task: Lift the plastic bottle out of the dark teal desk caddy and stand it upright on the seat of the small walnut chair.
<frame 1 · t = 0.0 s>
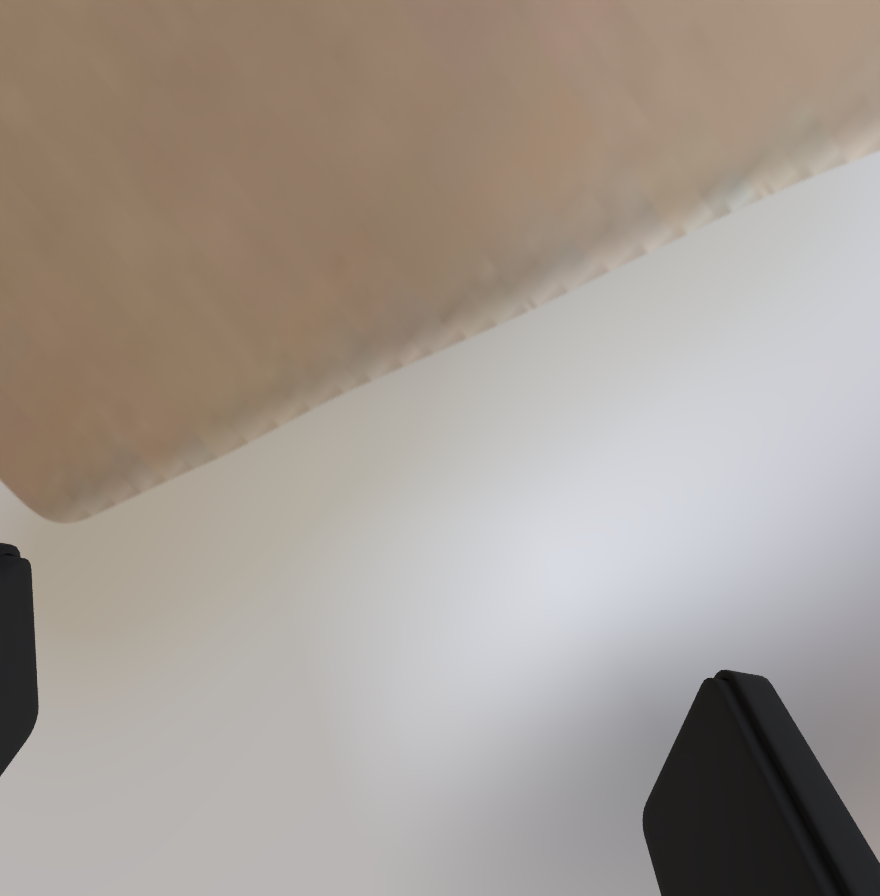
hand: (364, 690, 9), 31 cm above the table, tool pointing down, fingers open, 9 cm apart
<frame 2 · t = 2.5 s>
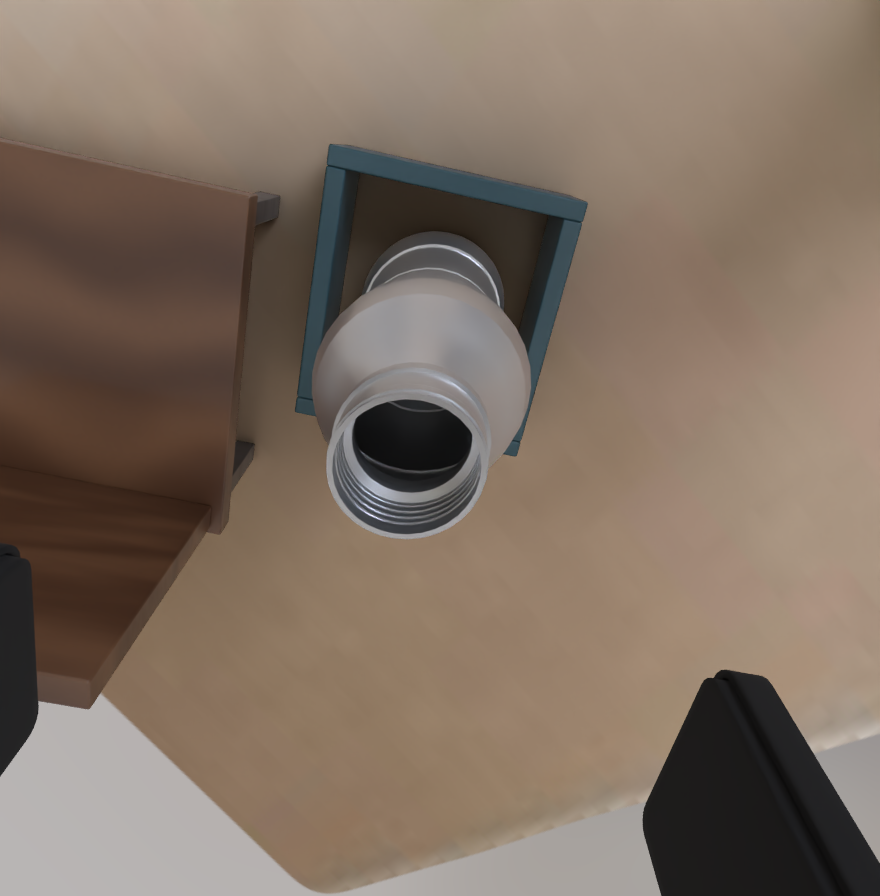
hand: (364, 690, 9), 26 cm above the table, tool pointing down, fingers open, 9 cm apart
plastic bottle: (434, 293, 33), resting in caddy
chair: (128, 310, 34), on the table
caddy: (434, 294, 33), on the table
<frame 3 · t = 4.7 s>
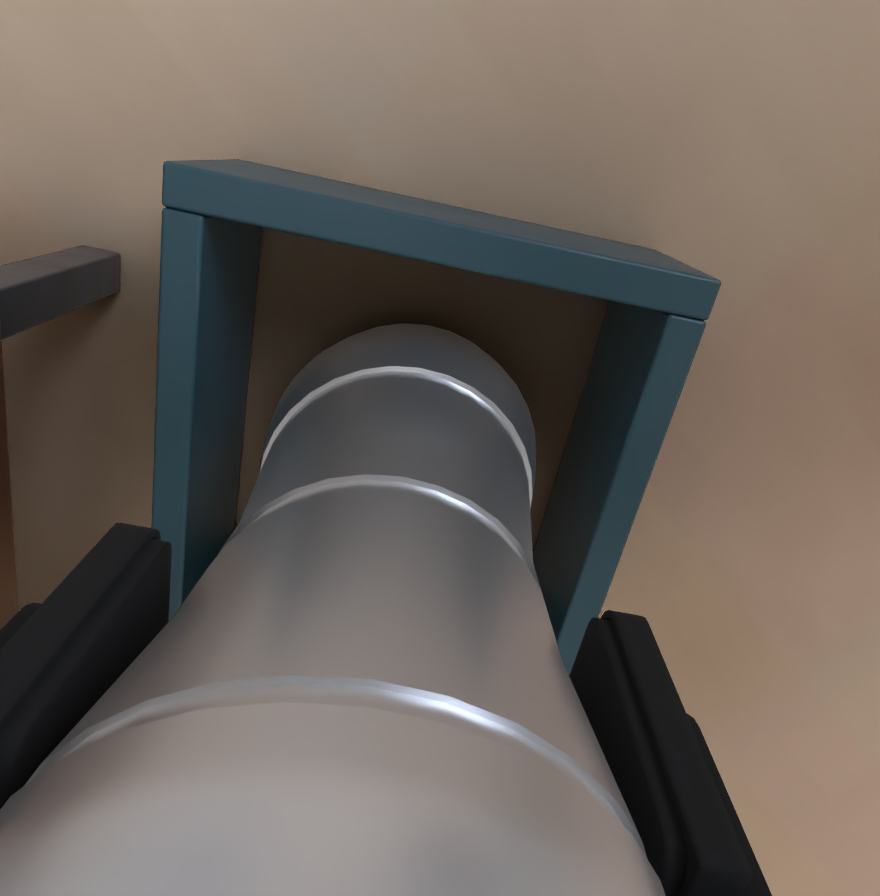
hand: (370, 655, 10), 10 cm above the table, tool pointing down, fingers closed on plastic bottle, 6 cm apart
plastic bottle: (409, 418, 19), resting in caddy, touching gripper
caddy: (408, 420, 19), on the table
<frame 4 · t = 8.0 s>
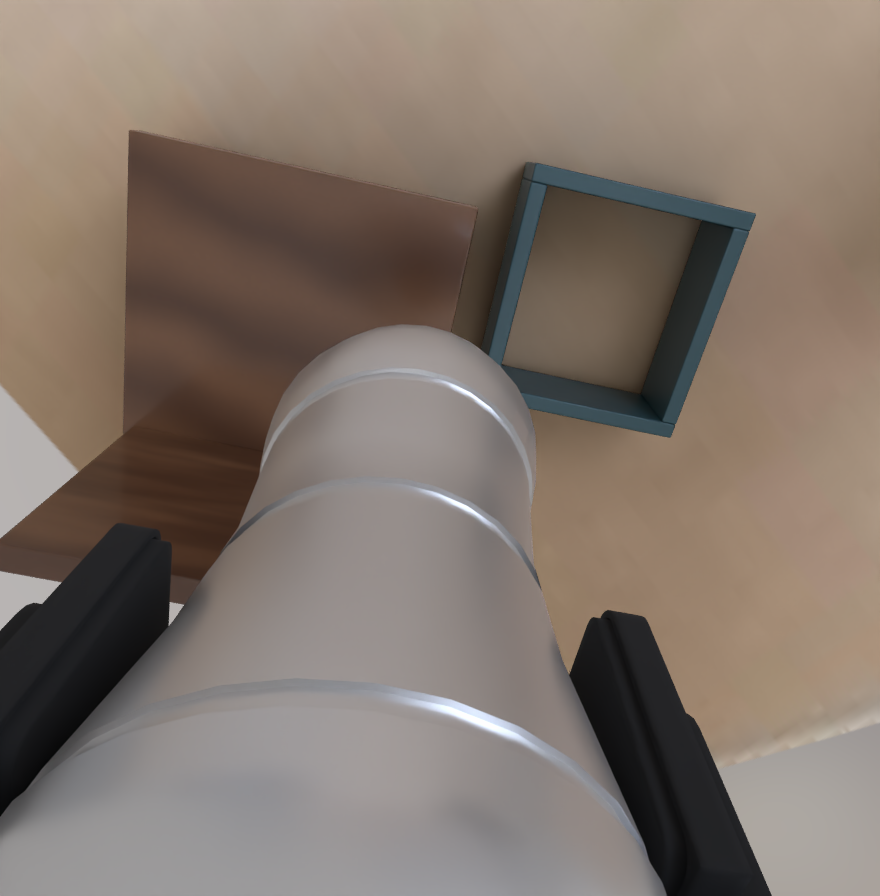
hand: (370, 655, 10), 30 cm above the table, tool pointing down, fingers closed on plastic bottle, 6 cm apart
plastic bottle: (409, 419, 19), point 20 cm above the table, touching gripper
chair: (314, 307, 38), on the table
caddy: (591, 294, 37), on the table
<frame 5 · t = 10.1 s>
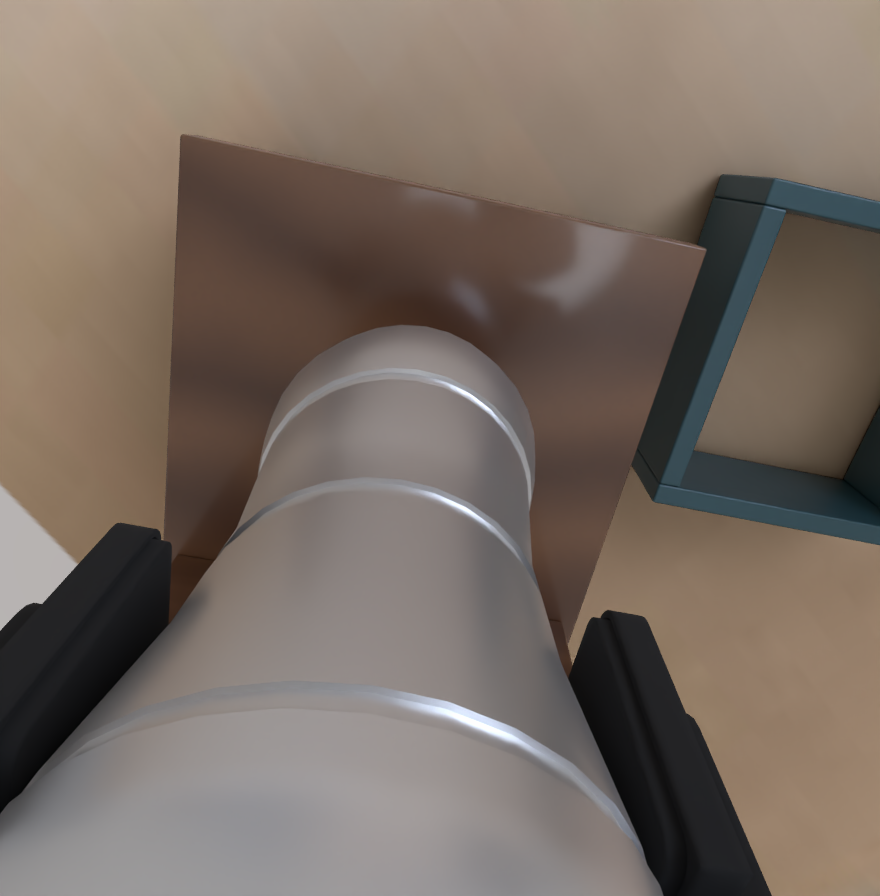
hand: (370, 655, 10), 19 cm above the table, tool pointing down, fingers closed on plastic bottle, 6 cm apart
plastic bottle: (408, 419, 19), point 9 cm above the table, touching gripper
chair: (414, 371, 28), on the table
caddy: (792, 351, 27), on the table
when the fingers open (17 cm above the table, at t = 11.4 s): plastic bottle stays where it is, resting on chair.
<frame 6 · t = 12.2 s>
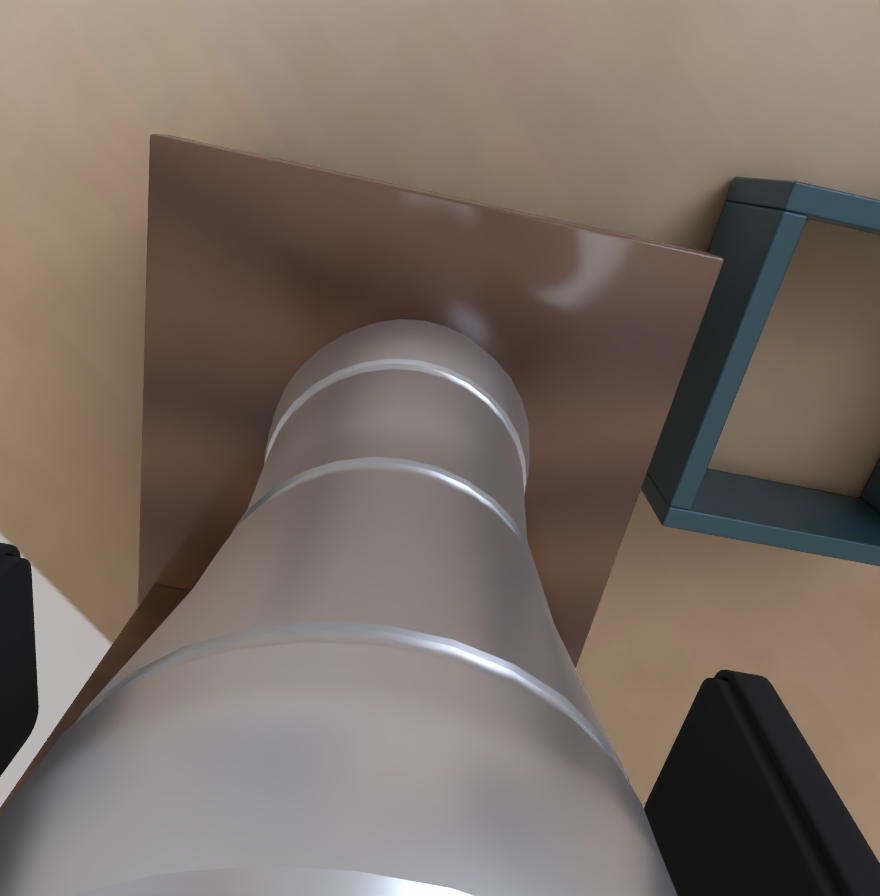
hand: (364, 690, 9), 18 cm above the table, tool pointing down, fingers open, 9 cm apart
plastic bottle: (406, 411, 20), point 7 cm above the table, touching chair
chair: (408, 385, 26), on the table
caddy: (807, 364, 26), on the table
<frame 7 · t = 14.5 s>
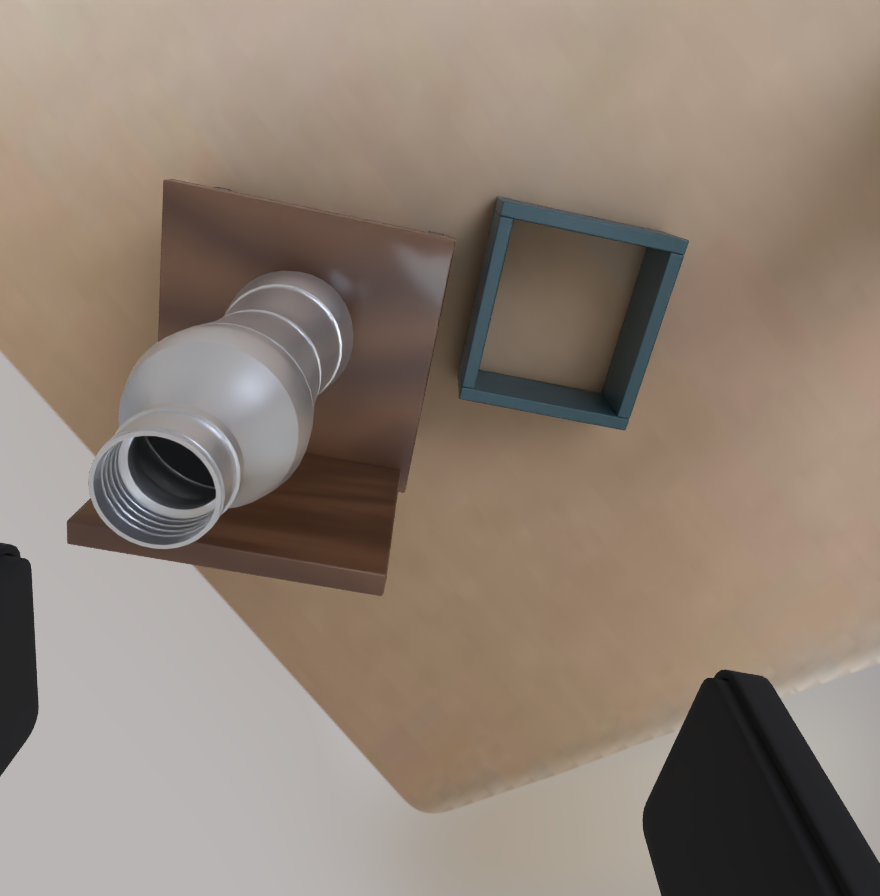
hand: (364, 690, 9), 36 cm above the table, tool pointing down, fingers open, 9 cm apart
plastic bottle: (300, 324, 37), point 7 cm above the table, touching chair
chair: (316, 322, 44), on the table
caddy: (556, 307, 43), on the table
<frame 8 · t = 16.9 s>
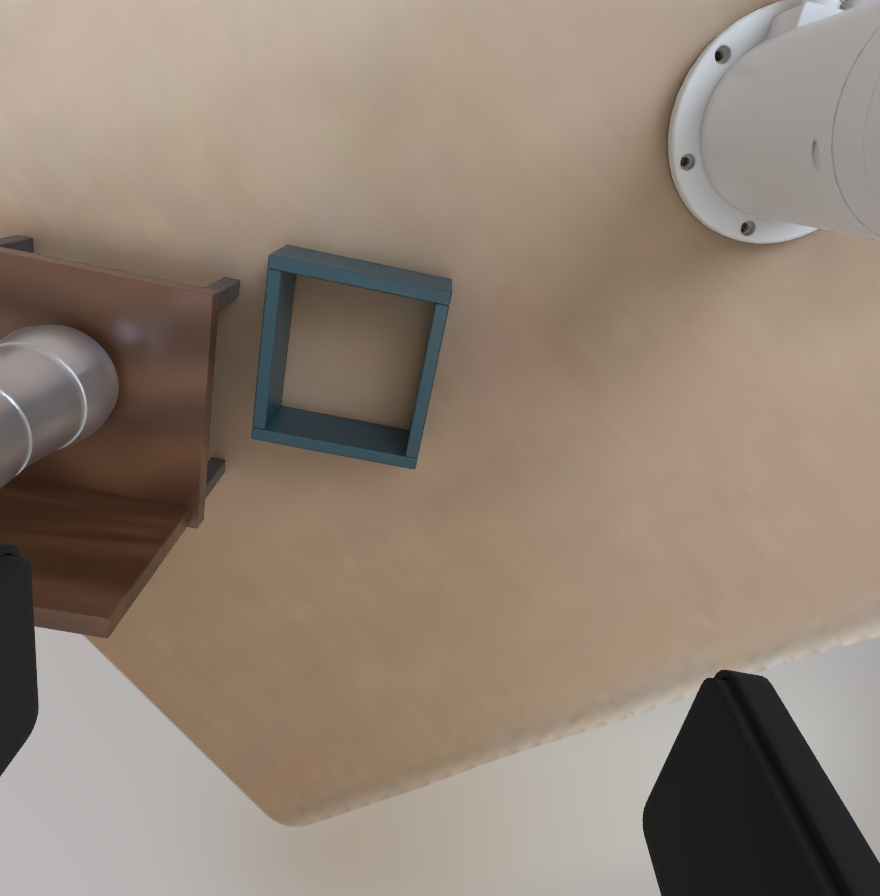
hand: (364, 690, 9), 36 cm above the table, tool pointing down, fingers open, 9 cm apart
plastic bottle: (77, 370, 38), point 7 cm above the table, touching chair
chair: (128, 362, 45), on the table
caddy: (356, 349, 45), on the table
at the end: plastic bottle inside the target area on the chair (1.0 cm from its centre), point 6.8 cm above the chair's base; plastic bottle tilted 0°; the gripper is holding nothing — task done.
